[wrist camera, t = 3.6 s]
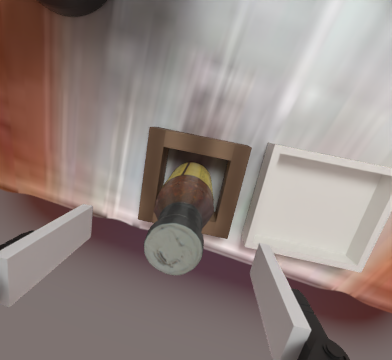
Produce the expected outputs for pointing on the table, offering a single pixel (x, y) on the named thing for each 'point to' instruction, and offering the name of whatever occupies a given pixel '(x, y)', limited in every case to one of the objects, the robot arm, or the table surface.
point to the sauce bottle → (180, 220)
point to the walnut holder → (196, 144)
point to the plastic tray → (318, 207)
